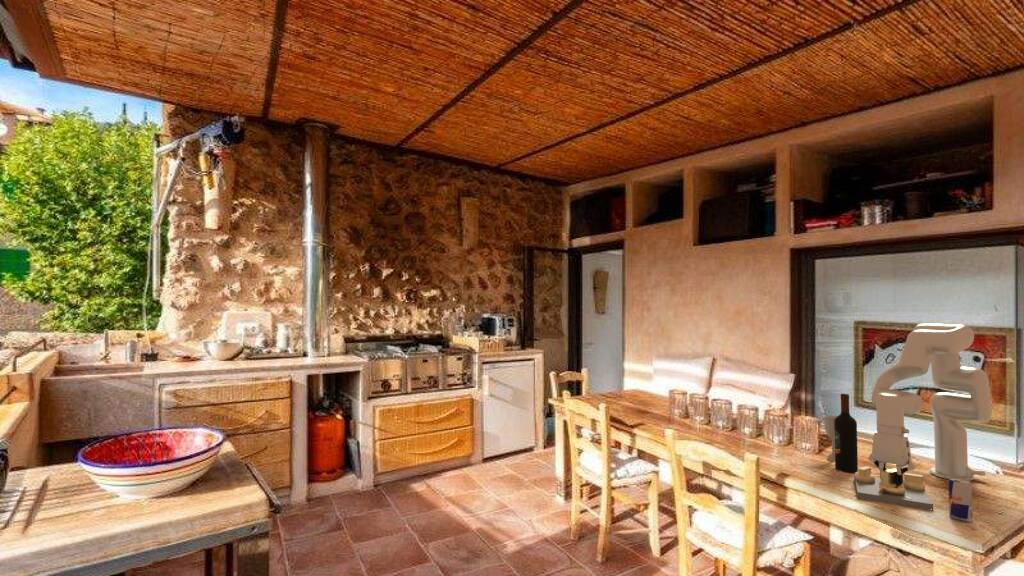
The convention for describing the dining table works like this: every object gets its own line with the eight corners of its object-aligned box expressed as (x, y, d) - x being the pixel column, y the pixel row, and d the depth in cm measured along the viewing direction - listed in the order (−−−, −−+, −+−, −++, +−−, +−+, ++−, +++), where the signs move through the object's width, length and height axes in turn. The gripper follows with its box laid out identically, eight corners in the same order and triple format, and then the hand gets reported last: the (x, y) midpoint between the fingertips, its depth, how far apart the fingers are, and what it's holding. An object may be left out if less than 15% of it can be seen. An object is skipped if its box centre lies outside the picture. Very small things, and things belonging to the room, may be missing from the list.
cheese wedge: (888, 486, 175) (887, 466, 176) (909, 493, 169) (909, 472, 169) (870, 489, 172) (869, 469, 172) (891, 497, 166) (891, 475, 166)
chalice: (838, 457, 215) (837, 415, 215) (847, 462, 208) (846, 419, 208) (820, 457, 215) (819, 415, 216) (829, 462, 209) (828, 418, 209)
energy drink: (944, 516, 156) (943, 477, 157) (960, 515, 157) (959, 476, 157) (961, 523, 151) (960, 483, 151) (977, 522, 152) (976, 483, 152)
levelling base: (922, 490, 178) (921, 472, 178) (933, 510, 160) (932, 490, 161) (854, 479, 188) (853, 462, 188) (857, 498, 171) (857, 479, 171)
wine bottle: (851, 474, 194) (849, 396, 195) (831, 468, 201) (829, 393, 202) (862, 471, 198) (860, 395, 198) (842, 465, 204) (840, 392, 205)
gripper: (923, 433, 167) (925, 488, 166) (866, 423, 180) (868, 474, 180) (916, 436, 163) (917, 493, 162) (858, 426, 176) (859, 479, 175)
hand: (891, 483), depth 171 cm, fingers closed on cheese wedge, 3 cm apart
